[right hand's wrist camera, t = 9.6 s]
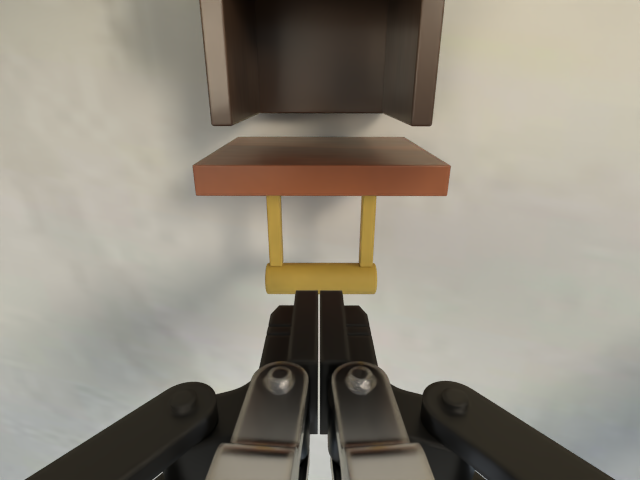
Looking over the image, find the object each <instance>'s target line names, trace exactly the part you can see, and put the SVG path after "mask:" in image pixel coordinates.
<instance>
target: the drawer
mask: <svg viewBox="0 0 640 480" xmlns="http://www.w3.org/2000/svg"><path fill="white" fill-rule="evenodd" d="M199 2H200V12H201V23H202V33H203V43H204V53H205V63H206V74H207V84H208V94H209V104H210V114H211V124H212V125H213V126H232V125H234V124H237V123H239V122H241V121H243V120H245V119H248V118H250V117H252V116H254V115H256V114H259V113H384V114H386V115H388V116H390V117H393V118H395V119H397V120H400V121H402V122H404V123H406V124H409V125H411V126H431V125H432V119H433V109H434V99H435V90H436V80H437V71H438V61H439V51H440V42H441V32H442V22H443V13H444V3H445V0H199ZM450 168H451V166H450V165H449V164H447V163H445V162H444V161H442V160H440V159H439V158H437V157H435V156H434V155H432V154H431V153H429V152H427V151H426V150H424V149H422V148H421V147H419V146H418V145H416V144H414V143H413V142H411V141H409V140H408V139H406V138H405V137H237V138H236V139H234V140H232V141H231V142H229V143H228V144H226V145H224V146H223V147H221V148H220V149H218V150H216V151H215V152H213V153H212V154H210V155H208V156H207V157H205V158H204V159H202V160H201V161H199V162H197V163H196V164H194V165H193V174H194V182H195V190H196V195H197V196H266V199H267V219H268V238H269V258H270V263H268V264H267V266H266V273H265V286H266V292H267V293H268V294H295V293H296V290H318V294H320V290H342V293H343V294H375V292H376V289H377V270H376V266H375V264H374V263H373V247H374V230H375V212H376V196H447V191H448V183H449V175H450ZM281 196H362V200H361V224H360V247H359V263H283V240H282V213H281Z"/></svg>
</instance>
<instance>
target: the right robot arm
mask: <svg viewBox="0 0 640 480" xmlns="http://www.w3.org/2000/svg"><path fill="white" fill-rule="evenodd" d="M310 434H318V290H296V293H295V302H294V305H279V306H278V307H277V308H276V310H275V311H274V312H273V313H272V314H271V316H270V321H269V327H268V330H267V336H266V339H265V344H264V349H263V353H262V358H261V362H260V367H259V369H258V370H257V371H256V372H255V373H254V375H253V377H252V379H251V381H250V382H249V383H247V384H246V385H244V386H242V387H240V388H238V389H235V390H232V391H228V392H224V393H220V394H215V392H214V390H213V389H212V388H211V387H210V386H208V385H207V384H204V383H200V382H186V383H182V384H178V385H176V386H173V387H171V388H169V389H168V390H166V391H164V392H163V393H161V394H160V395H158V396H156V397H155V398H153V399H152V400H150V401H148V402H147V403H145V404H144V405H142V406H141V407H139V408H137V409H136V410H134V411H133V412H131V413H130V414H128V415H126V416H125V417H123V418H122V419H120V420H118V421H117V422H115V423H114V424H112V425H111V426H109V427H107V428H106V429H104V430H103V431H101V432H99V433H98V434H96V435H95V436H93V437H92V438H90V439H88V440H87V441H85V442H84V443H82V444H81V445H79V446H77V447H76V448H74V449H73V450H71V451H69V452H68V453H66V454H65V455H63V456H62V457H60V458H58V459H57V460H55V461H54V462H52V463H51V464H49V465H47V466H46V467H44V468H43V469H41V470H39V471H38V472H36V473H35V474H33V475H32V476H30V477H28V478H27V479H25V480H153V479H154V478H155V477H156V476H158V475H159V474H160V473H161V472H163V473H162V474H161V475H159V476H158V477H157V478H156V479H154V480H308V473H309V462H310V458H309V442H310ZM320 434H328V451H329V454H330V456H331V458H330V462H331V473H332V480H486V479H487V480H615V479H613V478H612V477H610V476H608V475H607V474H605V473H604V472H602V471H601V470H599V469H597V468H596V467H594V466H593V465H591V464H589V463H588V462H586V461H585V460H583V459H582V458H580V457H578V456H577V455H575V454H574V453H572V452H571V451H569V450H567V449H566V448H564V447H563V446H561V445H559V444H558V443H556V442H555V441H553V440H552V439H550V438H548V437H547V436H545V435H544V434H542V433H540V432H539V431H537V430H536V429H534V428H533V427H531V426H529V425H528V424H526V423H525V422H523V421H522V420H520V419H518V418H517V417H515V416H514V415H512V414H510V413H509V412H507V411H506V410H504V409H503V408H501V407H499V406H498V405H496V404H495V403H493V402H492V401H490V400H488V399H487V398H485V397H484V396H482V395H480V394H479V393H477V392H476V391H474V390H473V389H471V388H469V387H467V386H465V385H463V384H460V383H457V382H452V381H439V382H435V383H432V384H430V385H429V386H428V387H426V389H425V390H424V392H423V395H421V394H417V393H413V392H409V391H405V390H402V389H399V388H397V387H395V386H393V385H391V384H390V382H389V379H388V377H387V375H386V373H385V372H384V371H383V370H382V369H381V368H379V367H378V365H377V360H376V355H375V350H374V345H373V340H372V336H371V331H370V327H369V321H368V316H367V314H366V313H365V312H364V311H363V310H362V309H361V307H360V306H344V302H343V293H342V290H320ZM475 470H476V471H477V472H479V473H480V474H481V475H482V476H484V477H485V478H486V479H484V478H483V477H482V476H481V475H479V474H478V473H477V472H476V471H475Z"/></svg>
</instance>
